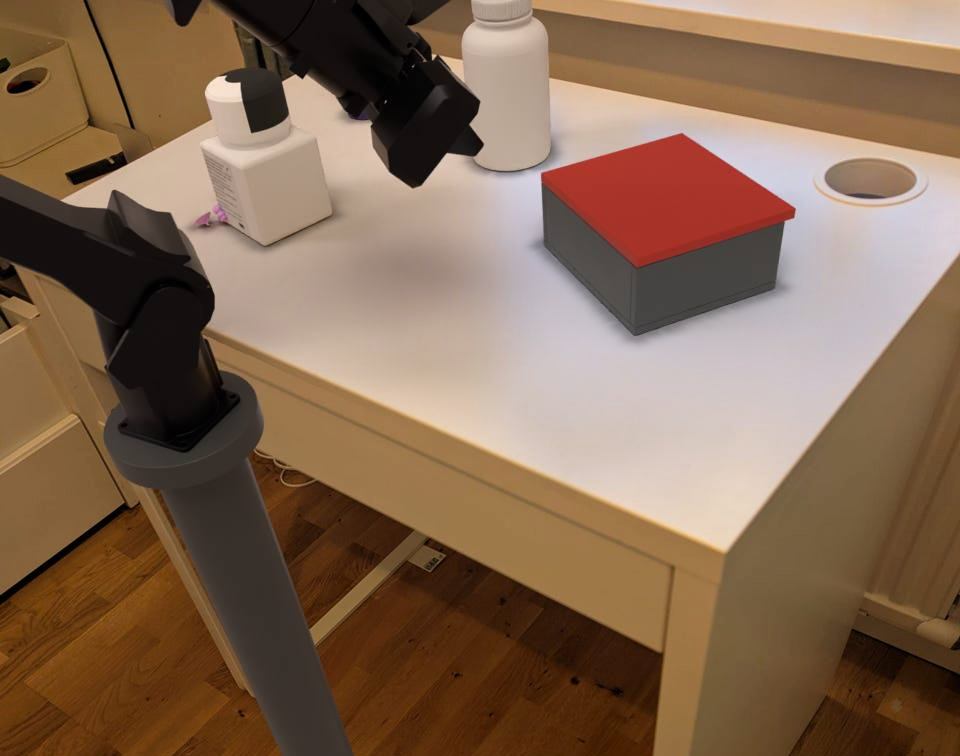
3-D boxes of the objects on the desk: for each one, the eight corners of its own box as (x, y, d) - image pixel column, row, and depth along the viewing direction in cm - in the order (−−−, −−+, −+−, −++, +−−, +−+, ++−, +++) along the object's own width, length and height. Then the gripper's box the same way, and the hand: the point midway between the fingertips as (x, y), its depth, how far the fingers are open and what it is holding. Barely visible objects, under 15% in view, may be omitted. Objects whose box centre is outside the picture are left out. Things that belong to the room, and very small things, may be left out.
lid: (681, 141, 79) (682, 132, 78) (794, 218, 69) (796, 208, 68) (540, 181, 76) (540, 172, 76) (636, 268, 66) (637, 258, 65)
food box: (669, 206, 83) (673, 144, 79) (775, 288, 72) (785, 221, 68) (543, 245, 80) (540, 182, 76) (634, 336, 70) (636, 268, 66)
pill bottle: (495, 181, 89) (481, 13, 79) (458, 152, 94) (440, -10, 84) (567, 158, 91) (563, -9, 81) (526, 130, 97) (518, -30, 86)
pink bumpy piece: (211, 237, 89) (203, 239, 87) (200, 223, 89) (192, 224, 87) (233, 217, 88) (225, 218, 86) (222, 203, 88) (214, 204, 86)
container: (290, 190, 92) (256, 52, 83) (334, 215, 87) (303, 72, 78) (221, 221, 88) (178, 80, 79) (264, 248, 84) (223, 103, 75)
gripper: (435, -81, 45) (622, 106, 55) (334, -166, 57) (504, 1, 67) (300, 112, 49) (499, 252, 59) (232, -6, 61) (408, 128, 71)
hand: (478, 148), depth 64 cm, fingers closed
